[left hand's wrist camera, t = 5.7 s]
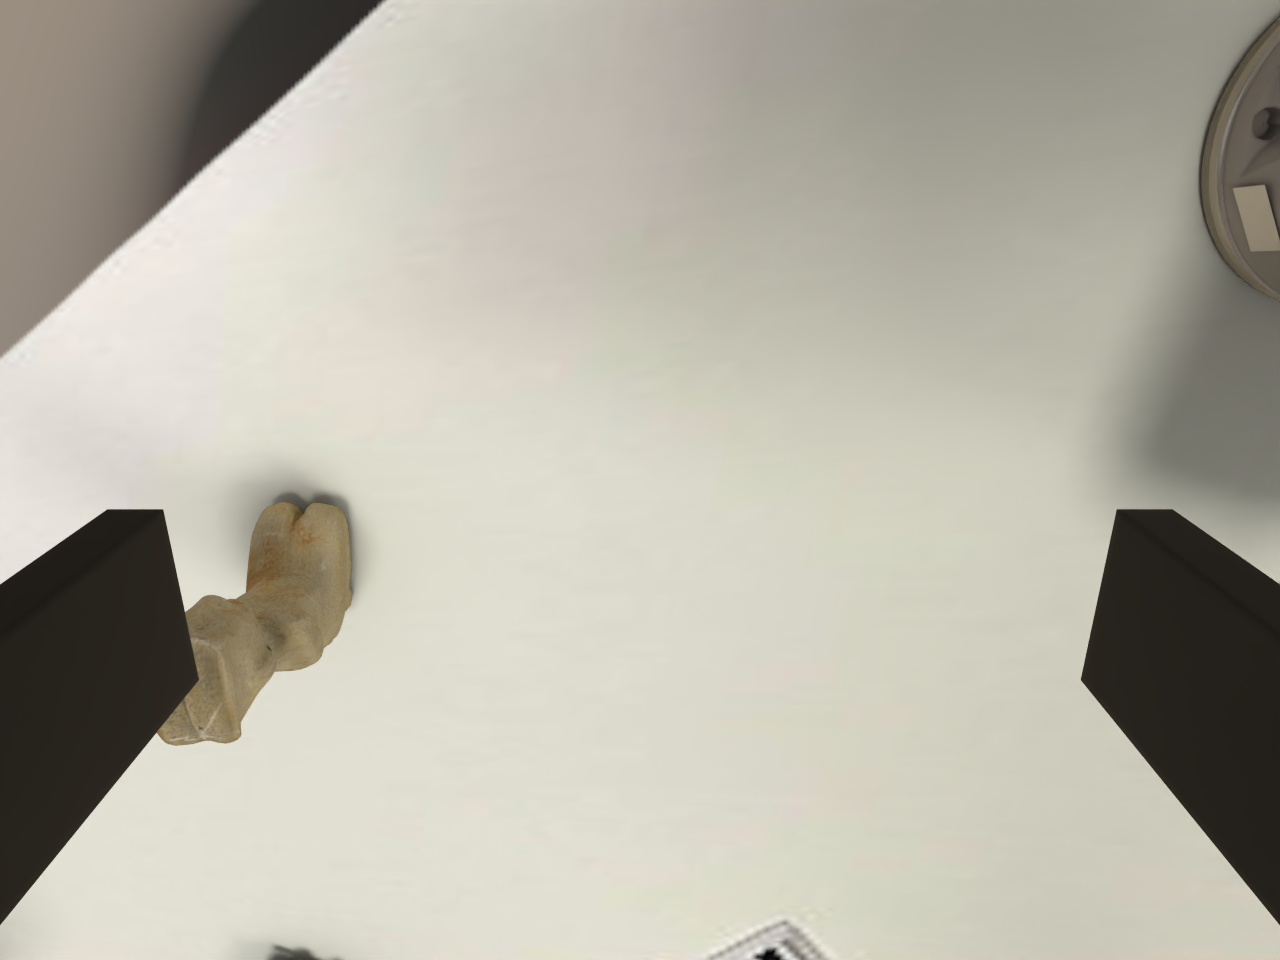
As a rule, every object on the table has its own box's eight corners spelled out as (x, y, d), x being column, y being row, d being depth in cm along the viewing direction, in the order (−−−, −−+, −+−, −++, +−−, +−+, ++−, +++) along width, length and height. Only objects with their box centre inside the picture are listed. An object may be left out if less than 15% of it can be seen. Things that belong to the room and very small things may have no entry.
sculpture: (366, 495, 48) (252, 644, 34) (374, 612, 50) (272, 795, 36) (257, 491, 48) (98, 638, 34) (271, 608, 50) (129, 790, 36)
